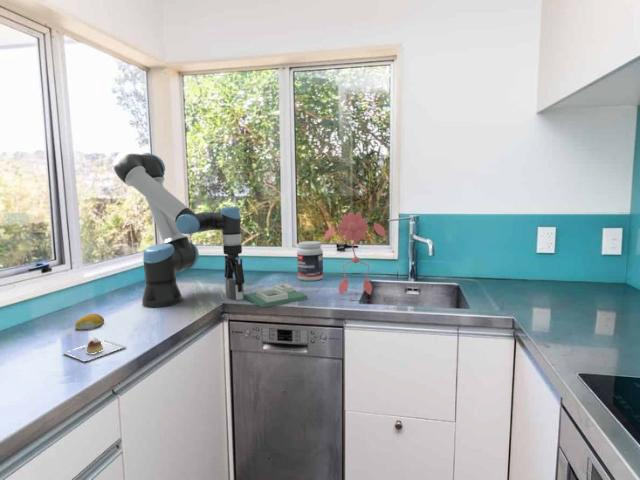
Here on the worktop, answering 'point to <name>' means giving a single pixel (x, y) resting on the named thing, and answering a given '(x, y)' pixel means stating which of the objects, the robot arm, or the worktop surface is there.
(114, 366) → the worktop surface
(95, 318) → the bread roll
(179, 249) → the robot arm
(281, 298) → the board
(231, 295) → the plug
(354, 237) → the pink flower sprig
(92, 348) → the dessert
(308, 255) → the supplement tub
